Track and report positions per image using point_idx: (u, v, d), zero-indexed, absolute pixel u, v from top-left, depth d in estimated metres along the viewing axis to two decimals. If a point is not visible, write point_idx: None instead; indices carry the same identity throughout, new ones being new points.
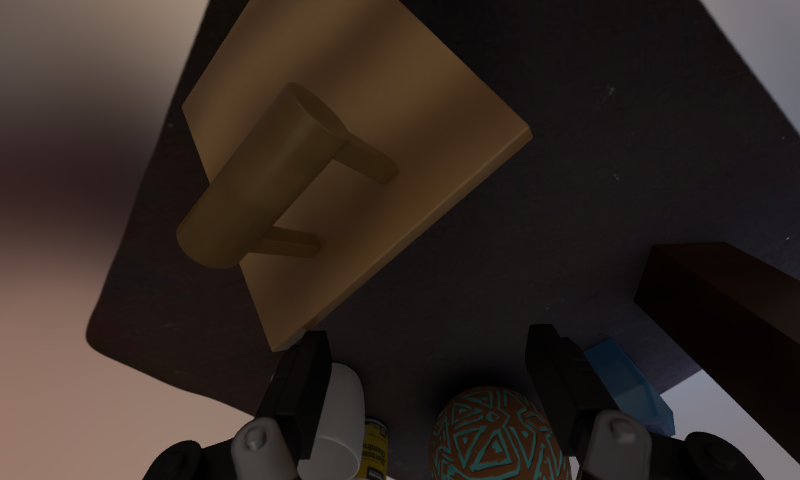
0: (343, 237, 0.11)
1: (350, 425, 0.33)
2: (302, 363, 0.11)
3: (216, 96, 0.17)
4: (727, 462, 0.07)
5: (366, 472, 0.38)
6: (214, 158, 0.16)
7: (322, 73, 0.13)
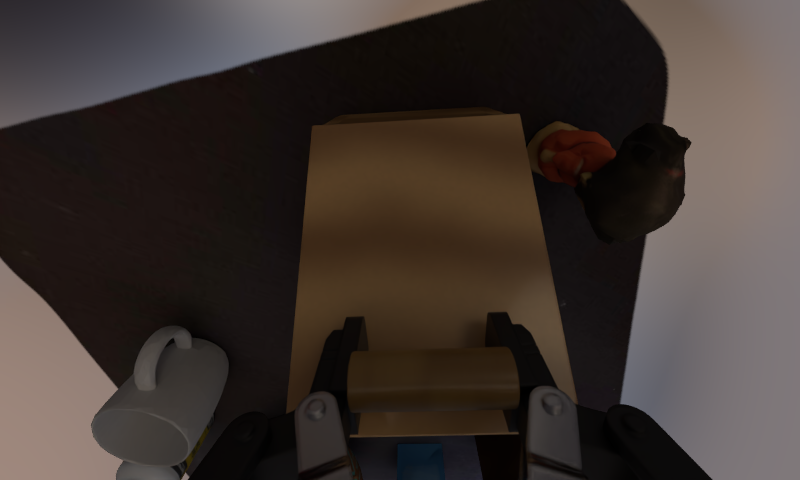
0: None
1: (201, 420, 0.32)
2: (348, 345, 0.11)
3: (357, 158, 0.18)
4: (641, 429, 0.08)
5: None
6: (322, 209, 0.17)
7: (466, 248, 0.15)
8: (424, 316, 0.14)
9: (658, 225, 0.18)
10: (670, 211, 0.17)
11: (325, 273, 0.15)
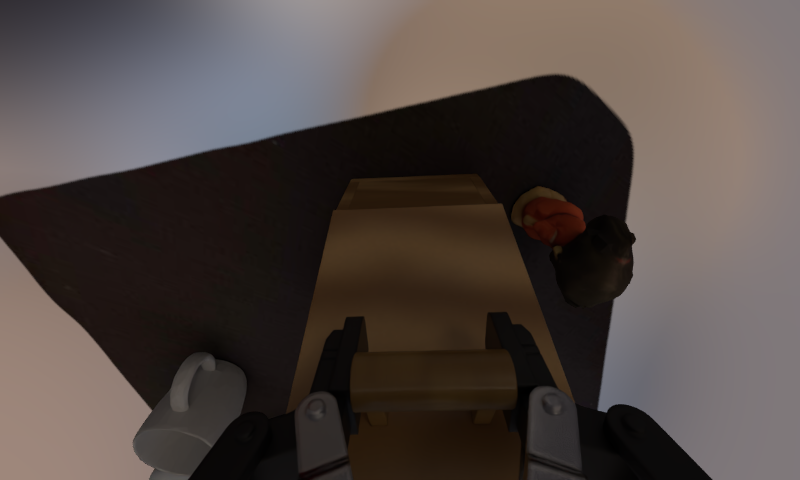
0: (413, 435, 0.12)
1: None
2: (348, 345, 0.11)
3: (368, 232, 0.21)
4: (641, 429, 0.08)
5: None
6: (335, 268, 0.19)
7: (463, 299, 0.17)
8: None
9: (612, 298, 0.22)
10: (620, 288, 0.21)
11: (332, 319, 0.16)
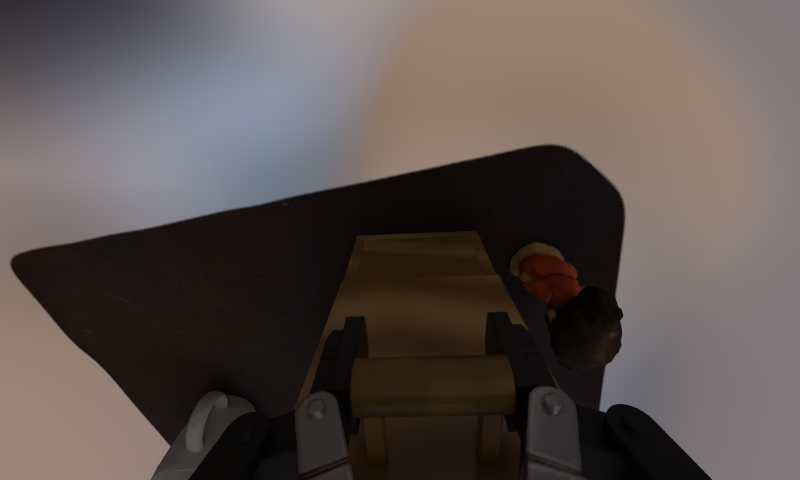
0: (414, 475, 0.11)
1: None
2: (348, 345, 0.11)
3: (373, 297, 0.22)
4: (641, 429, 0.08)
5: None
6: (341, 325, 0.19)
7: (465, 349, 0.17)
8: None
9: (602, 365, 0.24)
10: (610, 358, 0.23)
11: None
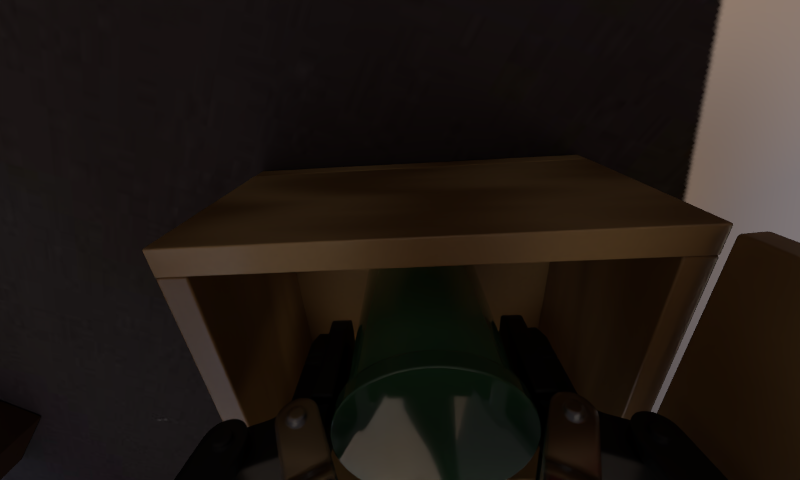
0: None
1: None
2: (333, 349, 0.11)
3: None
4: (667, 437, 0.08)
5: None
6: None
7: None
8: None
9: None
10: None
11: None
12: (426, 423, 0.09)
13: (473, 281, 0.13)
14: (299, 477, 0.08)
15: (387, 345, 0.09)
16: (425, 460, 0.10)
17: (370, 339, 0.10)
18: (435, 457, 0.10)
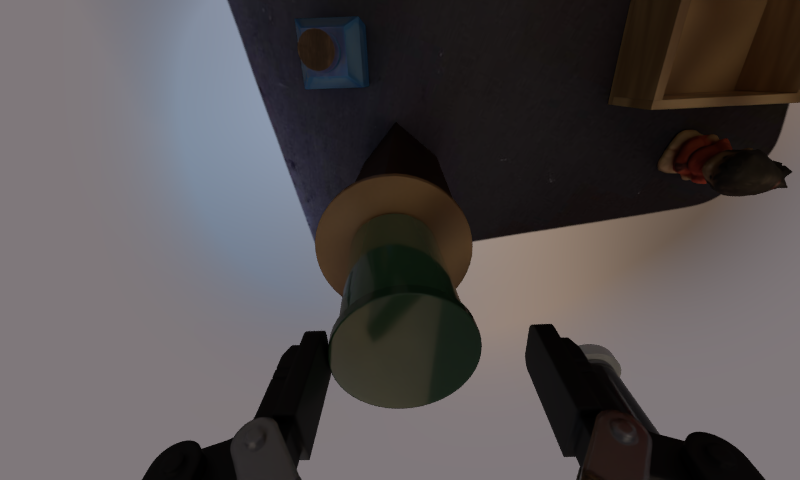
0: None
1: None
2: (302, 363, 0.11)
3: None
4: (728, 462, 0.07)
5: None
6: None
7: None
8: None
9: (749, 185, 0.32)
10: (760, 187, 0.32)
11: None
12: (399, 341, 0.12)
13: (434, 248, 0.17)
14: None
15: (368, 288, 0.13)
16: (399, 373, 0.13)
17: (355, 288, 0.14)
18: (407, 370, 0.13)
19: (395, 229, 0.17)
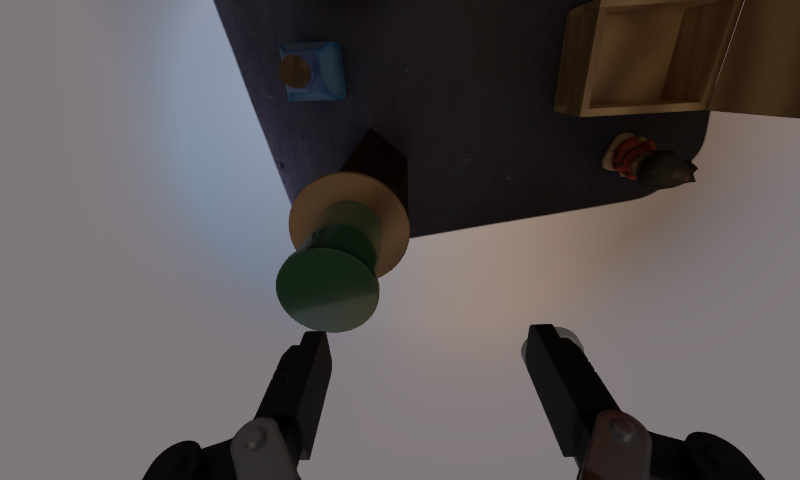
0: None
1: None
2: (302, 363, 0.11)
3: None
4: (727, 462, 0.07)
5: None
6: None
7: None
8: None
9: (662, 179, 0.38)
10: (671, 181, 0.38)
11: None
12: (321, 281, 0.19)
13: (367, 225, 0.23)
14: None
15: (304, 247, 0.19)
16: (325, 305, 0.20)
17: (299, 248, 0.20)
18: (329, 303, 0.19)
19: (340, 211, 0.23)
